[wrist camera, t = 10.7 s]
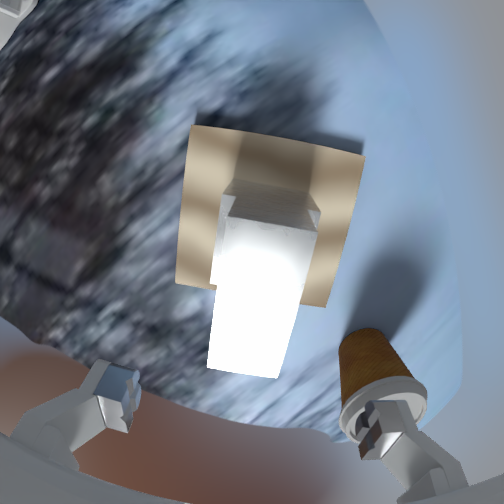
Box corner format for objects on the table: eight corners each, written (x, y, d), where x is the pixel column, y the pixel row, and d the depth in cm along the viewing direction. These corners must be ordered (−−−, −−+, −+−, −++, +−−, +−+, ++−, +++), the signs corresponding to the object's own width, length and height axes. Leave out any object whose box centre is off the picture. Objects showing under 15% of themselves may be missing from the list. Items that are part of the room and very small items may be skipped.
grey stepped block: (232, 178, 28) (209, 212, 17) (309, 192, 28) (335, 235, 17) (217, 285, 32) (193, 364, 21) (284, 296, 32) (290, 379, 21)
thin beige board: (194, 124, 28) (175, 124, 22) (361, 154, 28) (384, 162, 22) (178, 276, 34) (161, 308, 28) (323, 300, 34) (333, 336, 28)
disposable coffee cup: (341, 384, 39) (356, 456, 28) (313, 338, 36) (326, 416, 25) (404, 354, 37) (435, 421, 26) (386, 303, 34) (424, 373, 23)
